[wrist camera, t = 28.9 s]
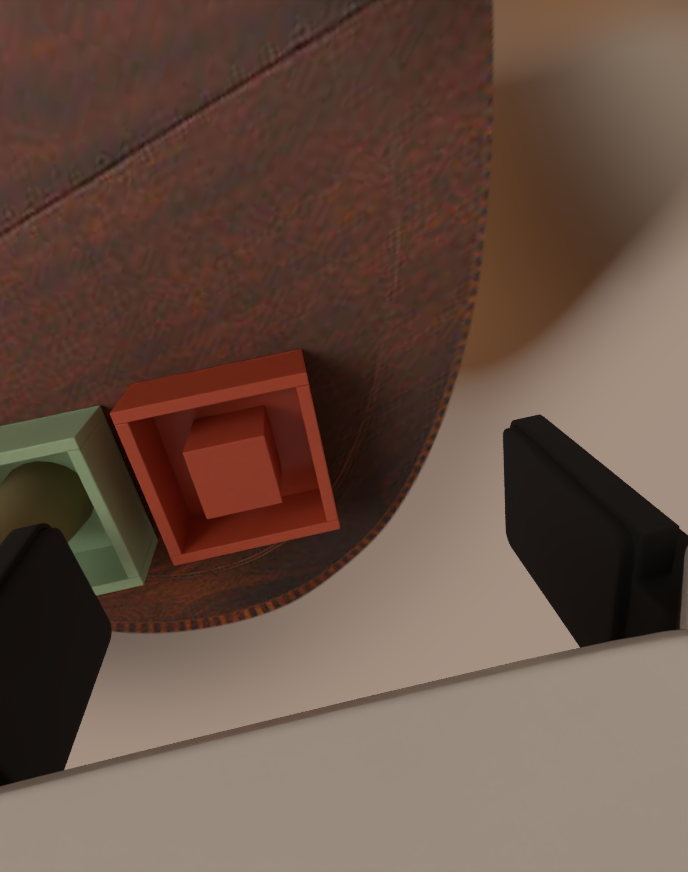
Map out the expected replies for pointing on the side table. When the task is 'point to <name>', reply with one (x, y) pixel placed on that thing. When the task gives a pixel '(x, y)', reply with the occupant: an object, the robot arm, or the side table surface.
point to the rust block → (234, 462)
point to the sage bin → (90, 493)
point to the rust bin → (212, 395)
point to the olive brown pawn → (43, 499)
